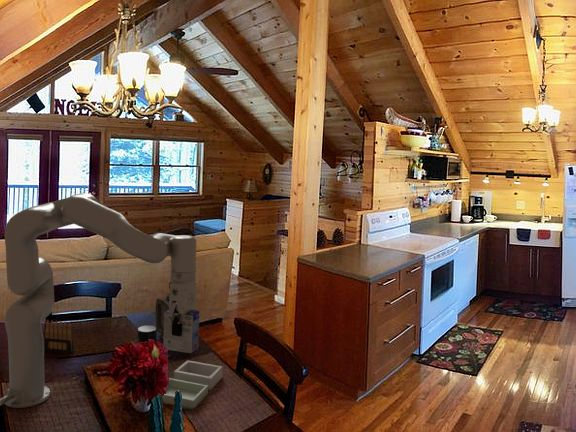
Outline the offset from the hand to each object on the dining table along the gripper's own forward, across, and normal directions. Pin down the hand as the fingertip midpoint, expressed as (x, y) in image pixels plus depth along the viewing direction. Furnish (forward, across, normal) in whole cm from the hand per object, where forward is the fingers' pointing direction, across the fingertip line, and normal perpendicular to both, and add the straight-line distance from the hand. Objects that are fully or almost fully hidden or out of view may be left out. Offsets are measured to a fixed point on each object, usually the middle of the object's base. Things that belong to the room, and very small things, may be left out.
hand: (181, 331), depth 152 cm
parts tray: (+22, 0, 0) cm, 22 cm away
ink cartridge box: (+6, 0, 0) cm, 6 cm away
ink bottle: (+22, +21, +25) cm, 39 cm away
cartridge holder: (+22, +13, 0) cm, 25 cm away
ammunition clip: (+22, +15, +59) cm, 65 cm away
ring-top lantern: (+22, +40, +25) cm, 52 cm away
